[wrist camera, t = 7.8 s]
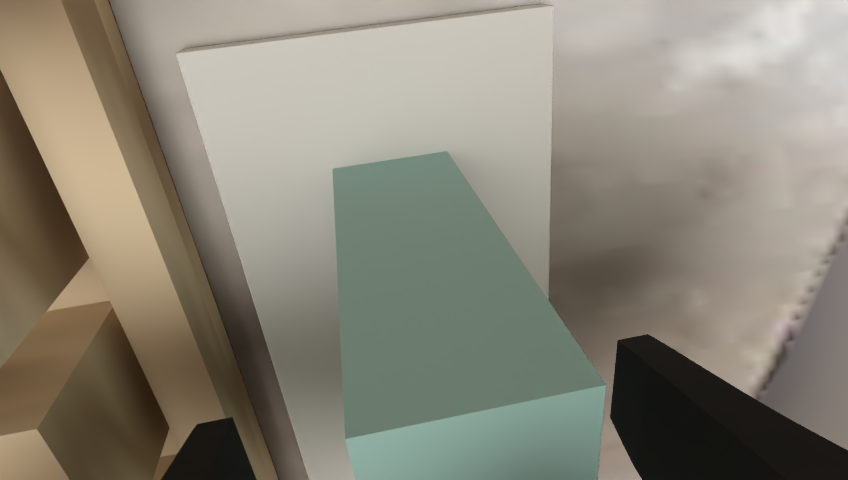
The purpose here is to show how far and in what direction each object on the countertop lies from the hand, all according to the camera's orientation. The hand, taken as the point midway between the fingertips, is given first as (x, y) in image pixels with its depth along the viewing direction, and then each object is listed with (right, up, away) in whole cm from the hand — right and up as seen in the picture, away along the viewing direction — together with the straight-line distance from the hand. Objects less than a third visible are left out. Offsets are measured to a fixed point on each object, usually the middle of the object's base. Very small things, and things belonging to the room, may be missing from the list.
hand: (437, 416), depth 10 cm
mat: (-1, +2, +3) cm, 4 cm away
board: (-1, +1, +3) cm, 3 cm away
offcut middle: (-8, 0, +2) cm, 8 cm away
